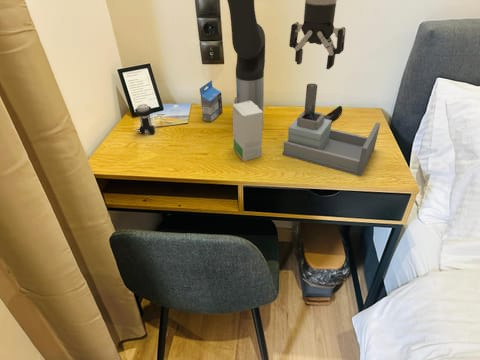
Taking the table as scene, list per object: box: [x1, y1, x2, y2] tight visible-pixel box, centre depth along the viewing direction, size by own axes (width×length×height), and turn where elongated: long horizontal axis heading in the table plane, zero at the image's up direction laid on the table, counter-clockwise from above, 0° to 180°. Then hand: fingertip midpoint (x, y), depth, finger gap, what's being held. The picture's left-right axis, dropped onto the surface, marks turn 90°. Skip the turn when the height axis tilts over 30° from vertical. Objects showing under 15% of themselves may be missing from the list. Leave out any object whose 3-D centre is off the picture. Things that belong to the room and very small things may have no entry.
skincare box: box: [232, 101, 264, 162], centre depth 103 cm, size 8×7×16 cm
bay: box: [281, 122, 381, 177], centre depth 104 cm, size 24×16×9 cm, turn 60°
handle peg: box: [303, 83, 318, 121], centre depth 101 cm, size 3×3×12 cm
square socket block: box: [287, 109, 333, 150], centre depth 106 cm, size 10×10×10 cm
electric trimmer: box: [325, 105, 343, 121], centre depth 123 cm, size 4×16×3 cm, turn 141°
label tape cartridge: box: [199, 80, 223, 123], centre depth 125 cm, size 9×4×12 cm, turn 155°
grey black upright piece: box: [134, 104, 156, 136], centre depth 117 cm, size 7×5×10 cm
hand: (313, 66), depth 94 cm, fingers open, 8 cm apart
